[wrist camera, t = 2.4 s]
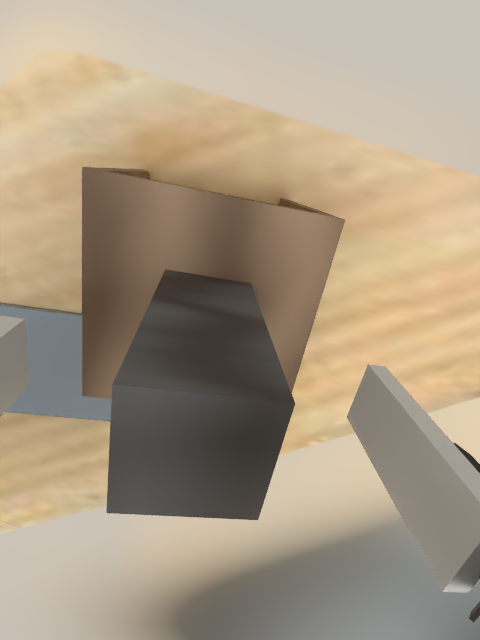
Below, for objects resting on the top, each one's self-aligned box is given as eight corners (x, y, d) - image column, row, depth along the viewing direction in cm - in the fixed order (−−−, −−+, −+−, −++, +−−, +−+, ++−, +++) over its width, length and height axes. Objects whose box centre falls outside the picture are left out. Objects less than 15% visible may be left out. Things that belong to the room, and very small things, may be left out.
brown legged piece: (129, 313, 31) (-30, 592, 10) (138, 169, 26) (-131, 158, 5) (258, 331, 33) (339, 596, 12) (289, 200, 28) (511, 278, 7)
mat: (-5, 407, 34) (-7, 410, 33) (-18, 300, 29) (-22, 302, 29) (116, 418, 36) (114, 421, 35) (121, 319, 31) (119, 321, 30)
